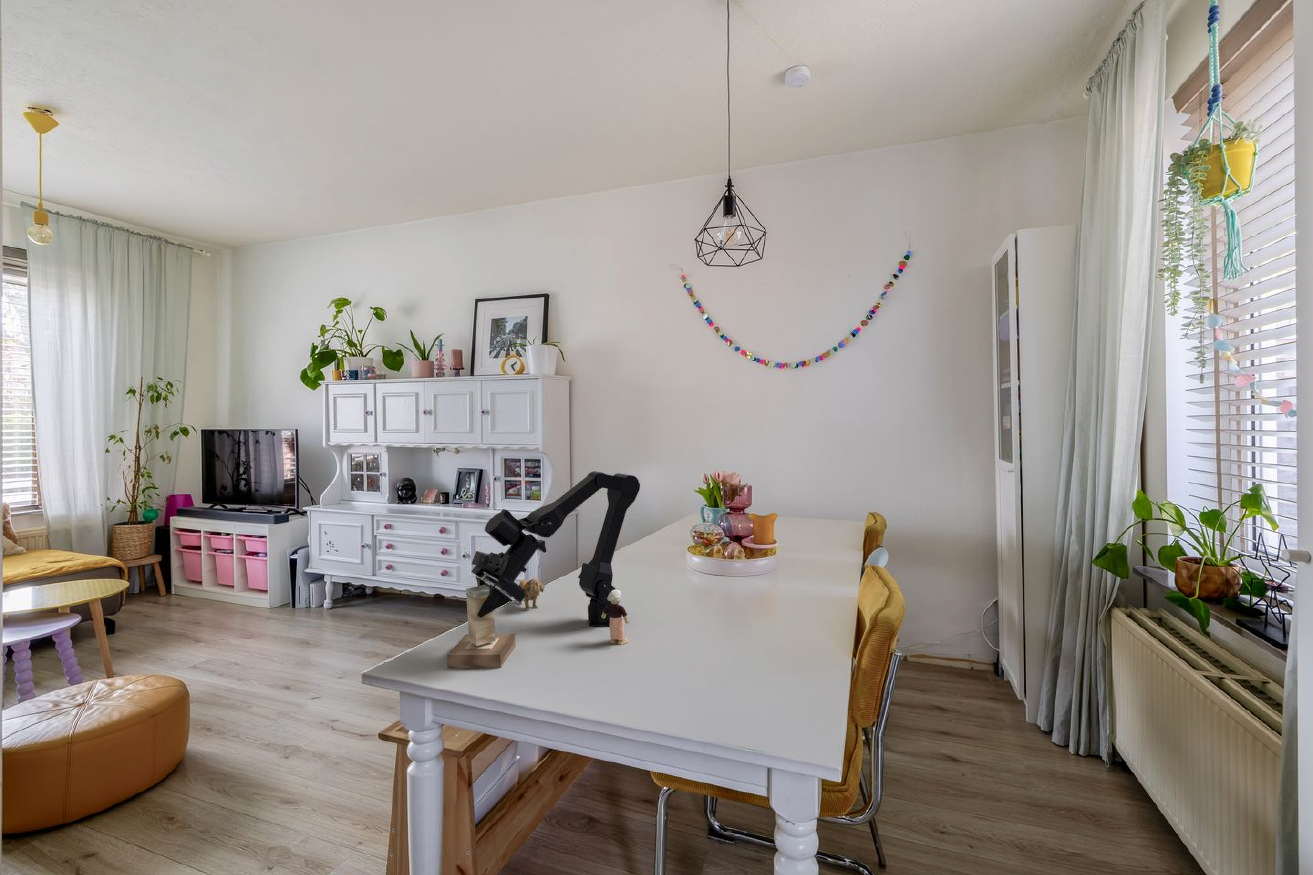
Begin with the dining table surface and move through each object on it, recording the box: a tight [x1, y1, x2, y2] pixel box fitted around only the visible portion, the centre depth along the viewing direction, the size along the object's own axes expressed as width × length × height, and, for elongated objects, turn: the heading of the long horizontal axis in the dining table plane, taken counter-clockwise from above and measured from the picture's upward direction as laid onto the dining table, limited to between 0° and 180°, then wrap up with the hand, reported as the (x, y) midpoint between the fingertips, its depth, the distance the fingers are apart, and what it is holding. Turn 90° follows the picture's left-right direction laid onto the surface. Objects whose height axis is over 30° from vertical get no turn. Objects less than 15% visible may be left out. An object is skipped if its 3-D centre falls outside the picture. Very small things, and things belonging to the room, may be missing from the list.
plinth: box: [446, 633, 517, 669], centre depth 151 cm, size 12×12×3 cm
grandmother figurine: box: [601, 588, 630, 646], centre depth 157 cm, size 8×4×13 cm, turn 71°
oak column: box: [465, 585, 496, 646], centre depth 151 cm, size 5×5×12 cm
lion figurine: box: [517, 578, 546, 612], centre depth 186 cm, size 15×5×9 cm, turn 36°
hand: (474, 613), depth 150 cm, fingers closed on oak column, 4 cm apart
